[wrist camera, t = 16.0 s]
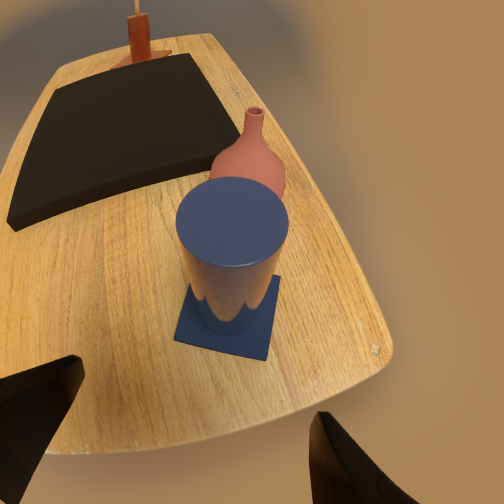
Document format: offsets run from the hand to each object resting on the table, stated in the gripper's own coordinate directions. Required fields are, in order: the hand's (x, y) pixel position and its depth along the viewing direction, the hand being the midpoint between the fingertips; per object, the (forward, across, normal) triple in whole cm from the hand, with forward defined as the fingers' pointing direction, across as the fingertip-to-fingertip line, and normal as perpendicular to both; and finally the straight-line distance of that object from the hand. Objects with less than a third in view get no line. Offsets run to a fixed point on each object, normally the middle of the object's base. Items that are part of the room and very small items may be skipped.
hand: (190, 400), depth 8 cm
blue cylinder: (+15, 0, +4) cm, 15 cm away
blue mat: (+15, 0, +4) cm, 16 cm away
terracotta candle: (+55, +35, -36) cm, 74 cm away
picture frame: (+36, +26, -16) cm, 47 cm away
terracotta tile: (+55, +35, -36) cm, 74 cm away
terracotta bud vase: (+24, +1, -4) cm, 24 cm away
